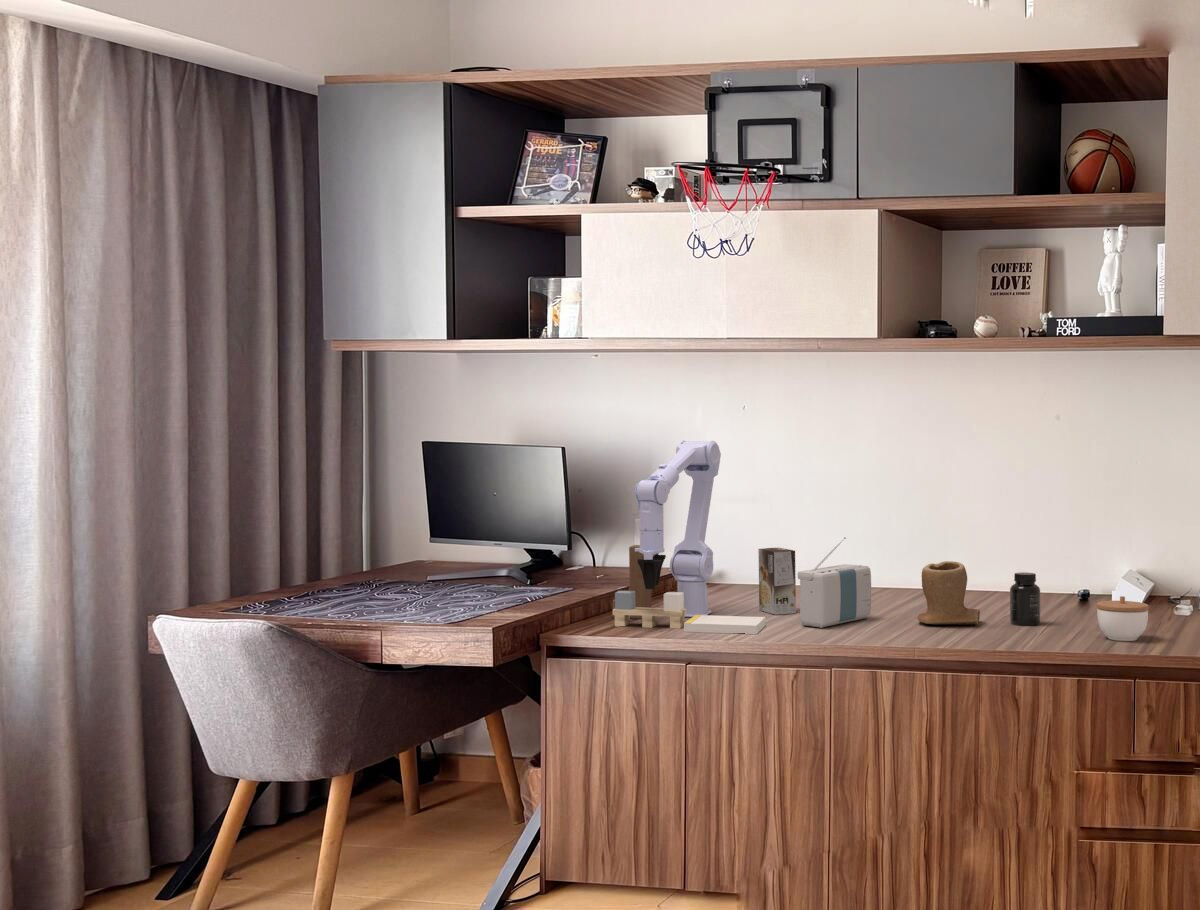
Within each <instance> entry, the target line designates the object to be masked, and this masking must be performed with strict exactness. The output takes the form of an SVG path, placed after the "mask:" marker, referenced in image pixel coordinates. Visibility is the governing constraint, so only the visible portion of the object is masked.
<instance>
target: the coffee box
mask: <svg viewBox="0 0 1200 910" xmlns="http://www.w3.org/2000/svg"><path fill="white" fill-rule="evenodd" d="M757 555H758V596H759V597H758V599H759V601H758V602H759V604H758V609H759V612H760V611H761V612H763V611H764V612H765V613H768V614H772V615H774V616H775V615H776V616H777V615H790V614H794V615H795V614H796V613H797V609H796V608H797V603H796V601H797V598H796V595H797V594H796V593H797V592H796V591H797V589H796V583H797V582H796V550H793V549H790V548H789V549H788V548H784V547H767V548H758V553H757Z"/></svg>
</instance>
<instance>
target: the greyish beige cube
mask: <svg viewBox="0 0 1200 910" xmlns="http://www.w3.org/2000/svg"><path fill="white" fill-rule="evenodd" d="M663 608H664V611H682V610H683V609H684V592H678V591H676V592H675V591H667V592H665V593H663Z"/></svg>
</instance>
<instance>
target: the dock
mask: <svg viewBox="0 0 1200 910" xmlns="http://www.w3.org/2000/svg"><path fill="white" fill-rule="evenodd" d="M766 624H767V623H766V616H739V615H737V616H735V615H709V614H708V615H695V616H693V617H690V618H689V619H688V620H686V621H684V626H683V633H708V634H709V633H711V634H733V633H745V634H744V635H757V634H758V633H760V632H761V630H763V629H764V627H765V625H766Z"/></svg>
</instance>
